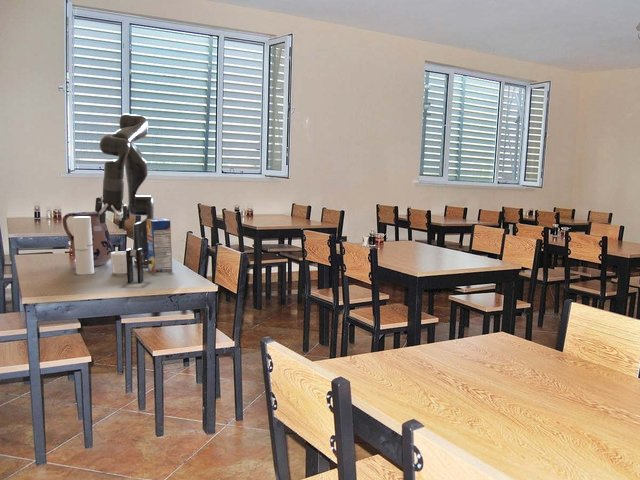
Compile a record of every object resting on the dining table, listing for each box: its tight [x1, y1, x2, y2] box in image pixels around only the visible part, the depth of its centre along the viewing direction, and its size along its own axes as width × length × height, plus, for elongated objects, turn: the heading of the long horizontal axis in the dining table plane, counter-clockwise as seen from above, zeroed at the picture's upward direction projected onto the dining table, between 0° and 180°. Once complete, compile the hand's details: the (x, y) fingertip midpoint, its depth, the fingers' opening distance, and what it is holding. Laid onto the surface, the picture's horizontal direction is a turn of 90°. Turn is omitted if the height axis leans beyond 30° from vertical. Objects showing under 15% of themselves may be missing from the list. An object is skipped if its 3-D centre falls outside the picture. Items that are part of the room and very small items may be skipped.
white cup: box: [110, 250, 127, 275], centre depth 285 cm, size 8×8×10 cm
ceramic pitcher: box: [62, 211, 114, 267], centre depth 306 cm, size 18×21×25 cm
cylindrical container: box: [72, 216, 95, 276], centre depth 286 cm, size 7×7×25 cm
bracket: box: [125, 248, 145, 284], centre depth 264 cm, size 10×8×15 cm
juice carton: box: [145, 217, 173, 274], centre depth 290 cm, size 12×8×24 cm, turn 34°
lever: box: [130, 249, 152, 265], centre depth 268 cm, size 14×7×2 cm, turn 3°
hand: (111, 225), depth 261 cm, fingers open, 8 cm apart
